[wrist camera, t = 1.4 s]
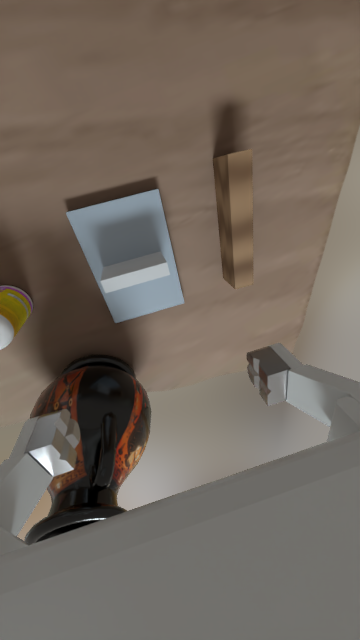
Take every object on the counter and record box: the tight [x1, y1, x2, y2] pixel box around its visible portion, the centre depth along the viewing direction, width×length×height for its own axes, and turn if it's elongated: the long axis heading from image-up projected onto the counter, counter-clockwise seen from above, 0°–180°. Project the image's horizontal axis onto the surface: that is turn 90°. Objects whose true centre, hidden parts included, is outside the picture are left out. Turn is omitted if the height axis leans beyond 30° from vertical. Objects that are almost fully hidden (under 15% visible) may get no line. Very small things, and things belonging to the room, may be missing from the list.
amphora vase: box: [25, 355, 151, 546], centre depth 40 cm, size 22×22×28 cm
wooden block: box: [213, 149, 253, 289], centre depth 38 cm, size 20×4×6 cm, turn 11°
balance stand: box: [66, 189, 184, 323], centre depth 37 cm, size 20×14×8 cm
